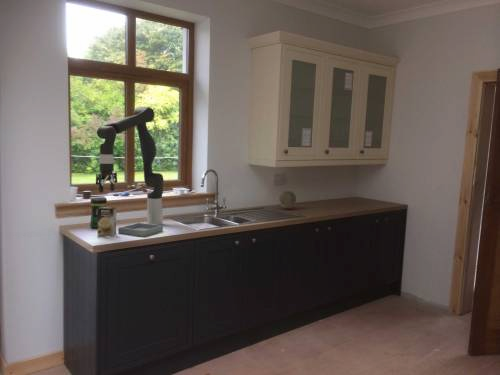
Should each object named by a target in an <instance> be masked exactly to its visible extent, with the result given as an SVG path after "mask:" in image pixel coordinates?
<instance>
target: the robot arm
mask: <svg viewBox="0 0 500 375" xmlns="http://www.w3.org/2000/svg"><path fill="white" fill-rule="evenodd" d="M155 114H156V113H155V111H154V109H153V108H152V107H150V106H137V107H135V108H134V111H133V115H131V116H127V117H123V118H120V119H117V120H116V121H114V122H111V123H107V124H104V125H100V127H98V129H97V130H96V136H97V137H98V138H99V139H102V140H104V142H103V143H101V144H100V145H99V172H100V173H96V174H95V185H97V186H98V191H99V193H104V185H105V183H106V182H109V184H110V185H109V191H110V192H114V191H115V184H117V183H118V173H117V172H114V171H115V167H114V166H115V162H114V161H115V158H114V147H115V146H114V145H115V142H116V138H117V134H118V135H119V134H122V133H123V132H126V131H128V130H130V129H132V128H134V127H136V131H137V133H138V139H139V146H140V152H141V159H142V165H143V179H144V185H145V186H146V187H147V188H153V190H152V191H150V192H148V193H147V194H146V195H147V196H146V197H147V199H146V203H147V204H146V209H147V211H146V215H147V216H146V224H153V225H161V226H162V225H163V222H164V221H163V212H164V211H163V193H164V176H163V174H162V173H159V172H153V163H154V160H155V158H156V155H157V146H156V141H155V140H154V138H153V136H152V135H151V133H150V131H149V130H148V127H147V123H151V122H152V121H153V120H154V119H155Z"/></svg>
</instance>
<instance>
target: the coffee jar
mask: <svg viewBox="0 0 500 375" xmlns="http://www.w3.org/2000/svg"><path fill="white" fill-rule="evenodd" d="M107 200H108V199H107V197H99V196H96V197H95V196H94V197H91V199H90V202H89V203H90V206H91V207H90V208H91V216H90V228H91V229H92V228H93V229H98V208H99V207H101V206H102V207H108V201H107Z"/></svg>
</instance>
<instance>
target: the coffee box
mask: <svg viewBox="0 0 500 375" xmlns="http://www.w3.org/2000/svg"><path fill="white" fill-rule="evenodd" d="M116 235H117V207H116V206H106V207H102V206H101V207H99V208H98V228H97V237H105V238H106V237H107V238H108V237H109V238H114V237H115V236H116Z"/></svg>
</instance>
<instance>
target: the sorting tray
mask: <svg viewBox="0 0 500 375" xmlns="http://www.w3.org/2000/svg"><path fill="white" fill-rule="evenodd" d="M163 228H164V225H162V224H161V225H153V224H147V223H145V222H144V223H143V222H136V223H132V224H128V225H124V226H120V227H118V228H117V230H118V231H117V232H118V234H119V235H124V236H125V235H126V236H131V237H132V236H133V237H140V238H146V237H149V236H152V235H157V234H159V233H162V232H164V231H163V230H164V229H163Z"/></svg>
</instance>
